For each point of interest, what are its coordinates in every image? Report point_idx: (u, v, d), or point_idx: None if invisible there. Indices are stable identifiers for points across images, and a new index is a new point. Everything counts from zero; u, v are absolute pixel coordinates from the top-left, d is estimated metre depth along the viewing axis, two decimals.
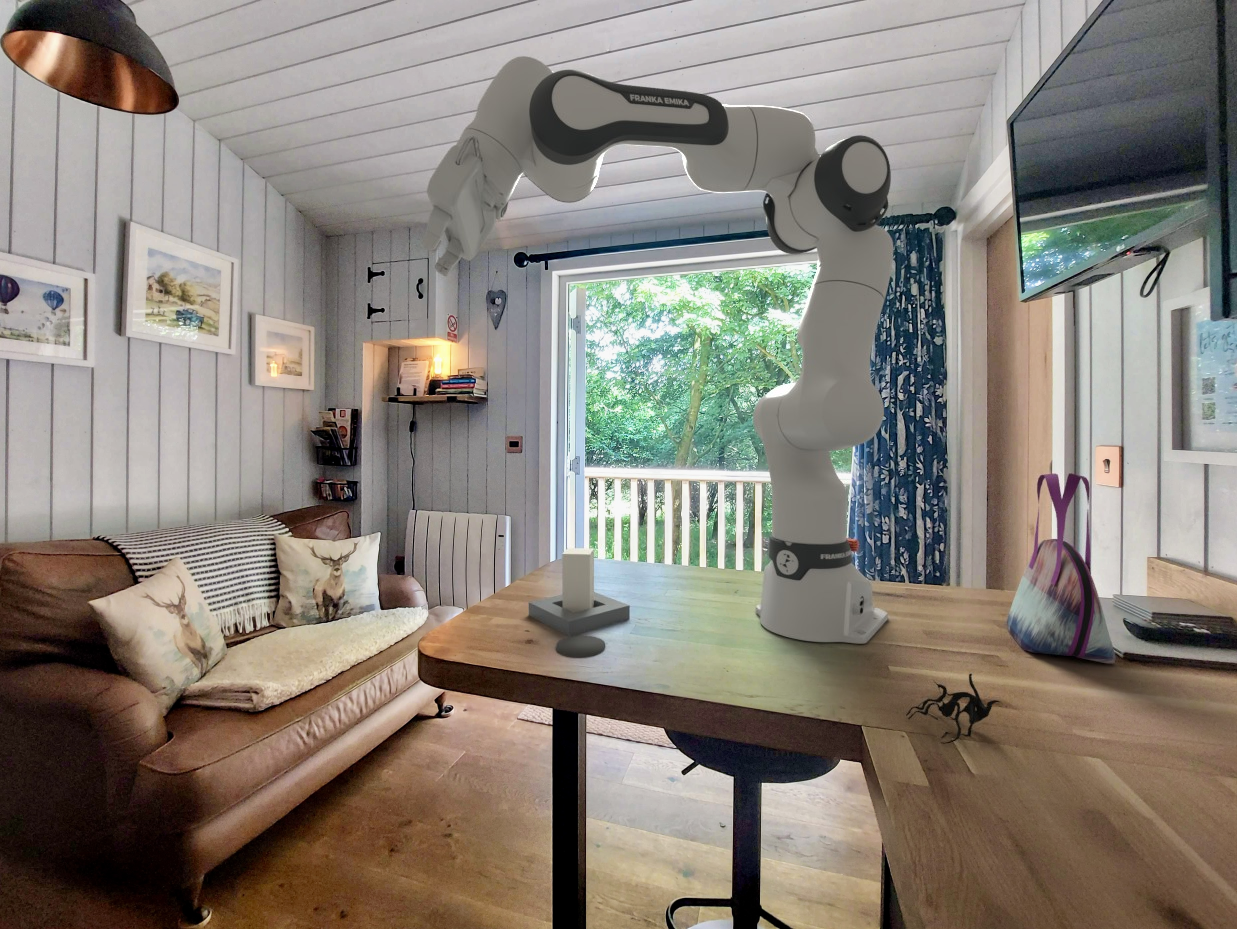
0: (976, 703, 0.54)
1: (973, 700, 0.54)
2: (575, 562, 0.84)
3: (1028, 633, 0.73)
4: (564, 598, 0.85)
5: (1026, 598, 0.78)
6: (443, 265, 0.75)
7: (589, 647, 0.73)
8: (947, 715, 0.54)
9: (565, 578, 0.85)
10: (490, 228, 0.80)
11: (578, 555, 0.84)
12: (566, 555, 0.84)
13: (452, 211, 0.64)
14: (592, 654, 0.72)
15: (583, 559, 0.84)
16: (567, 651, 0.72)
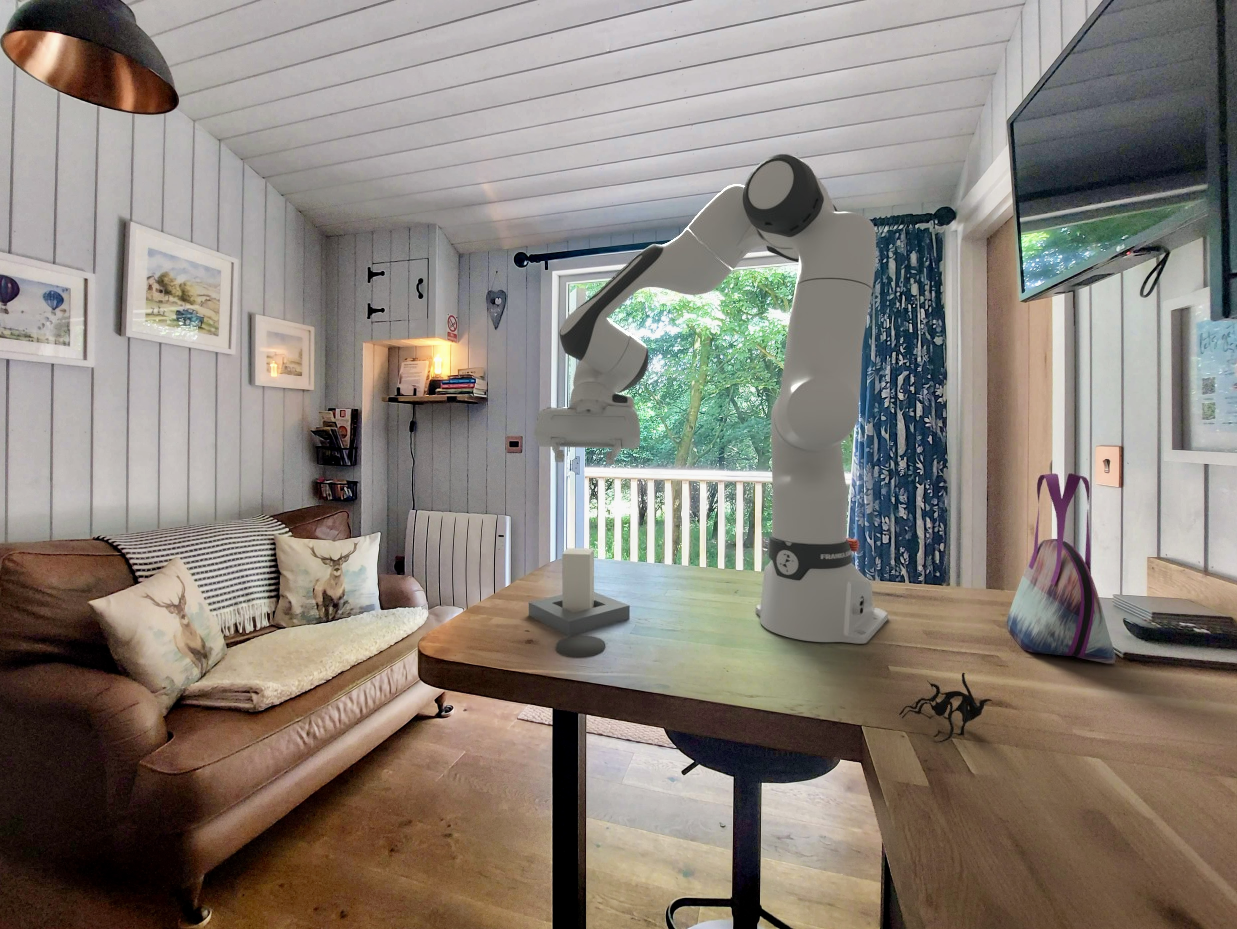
0: (969, 702, 0.54)
1: (966, 699, 0.54)
2: (575, 562, 0.84)
3: (1028, 633, 0.73)
4: (564, 598, 0.85)
5: (1026, 598, 0.78)
6: None
7: (589, 647, 0.73)
8: (940, 714, 0.54)
9: (565, 578, 0.85)
10: (630, 413, 1.01)
11: (578, 555, 0.84)
12: (566, 555, 0.84)
13: (544, 435, 0.98)
14: (592, 654, 0.72)
15: (583, 559, 0.84)
16: (567, 651, 0.72)
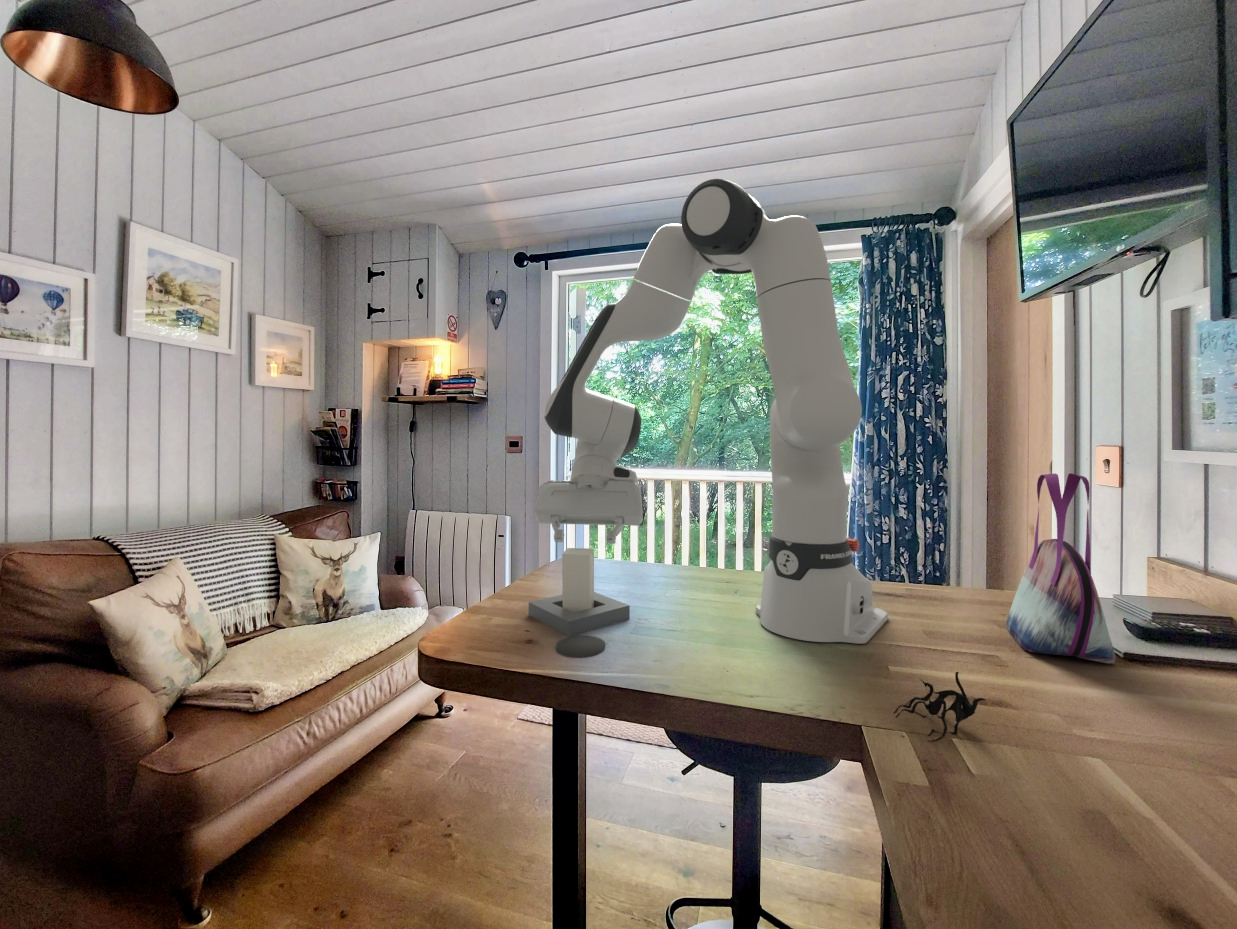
0: (962, 701, 0.54)
1: (959, 698, 0.54)
2: (575, 562, 0.84)
3: (1028, 633, 0.73)
4: (564, 598, 0.85)
5: (1026, 598, 0.78)
6: None
7: (589, 647, 0.73)
8: (934, 713, 0.54)
9: (565, 578, 0.85)
10: (632, 488, 0.97)
11: (578, 555, 0.84)
12: (566, 555, 0.84)
13: (543, 513, 0.96)
14: (592, 654, 0.72)
15: (583, 559, 0.84)
16: (567, 651, 0.72)
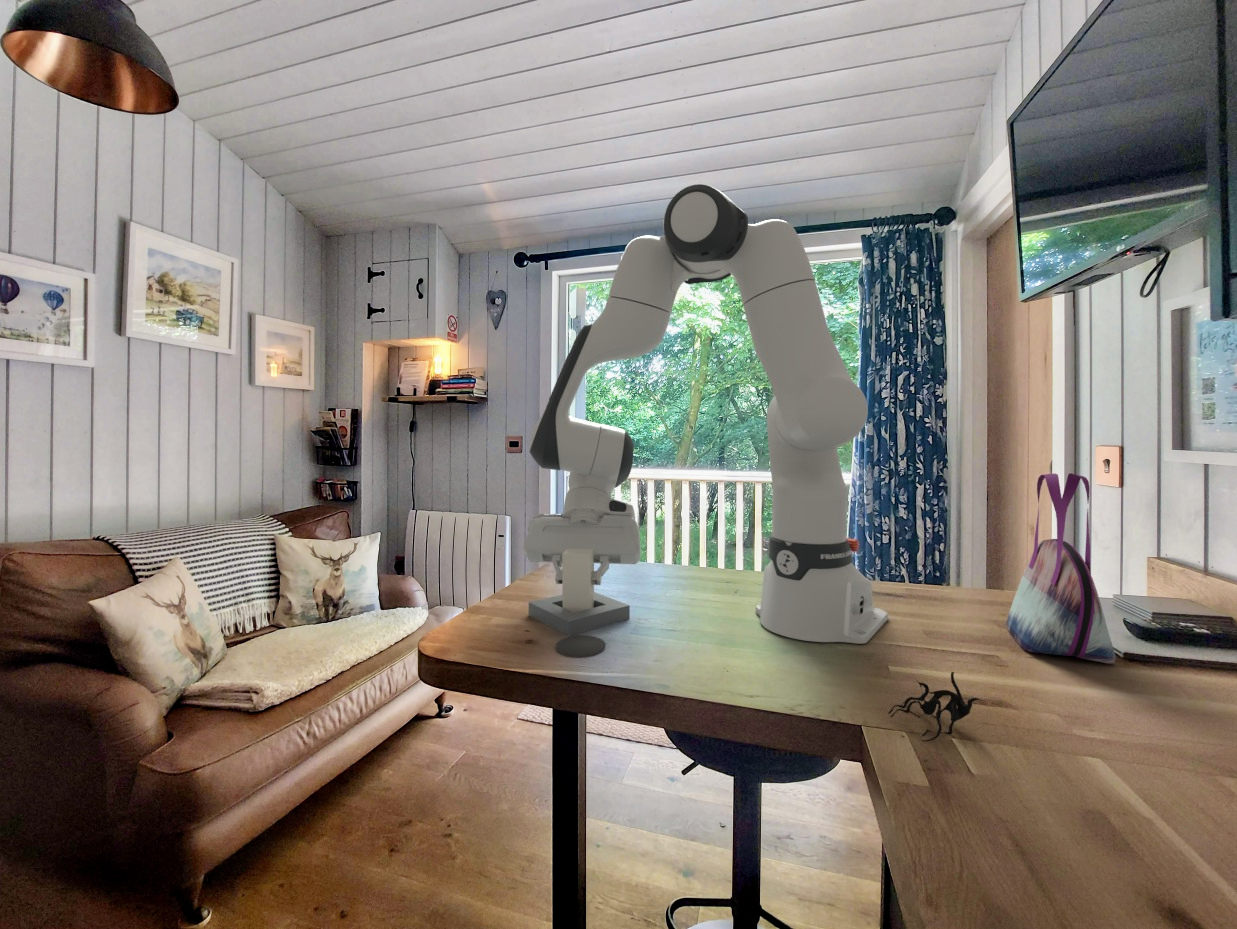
0: (957, 701, 0.54)
1: (954, 698, 0.54)
2: (575, 562, 0.84)
3: (1028, 633, 0.73)
4: (564, 598, 0.85)
5: (1026, 598, 0.78)
6: None
7: (589, 647, 0.73)
8: (928, 713, 0.54)
9: (565, 578, 0.85)
10: (629, 523, 0.91)
11: (578, 555, 0.84)
12: (566, 555, 0.84)
13: (533, 552, 0.89)
14: (592, 654, 0.72)
15: (583, 559, 0.84)
16: (567, 651, 0.72)
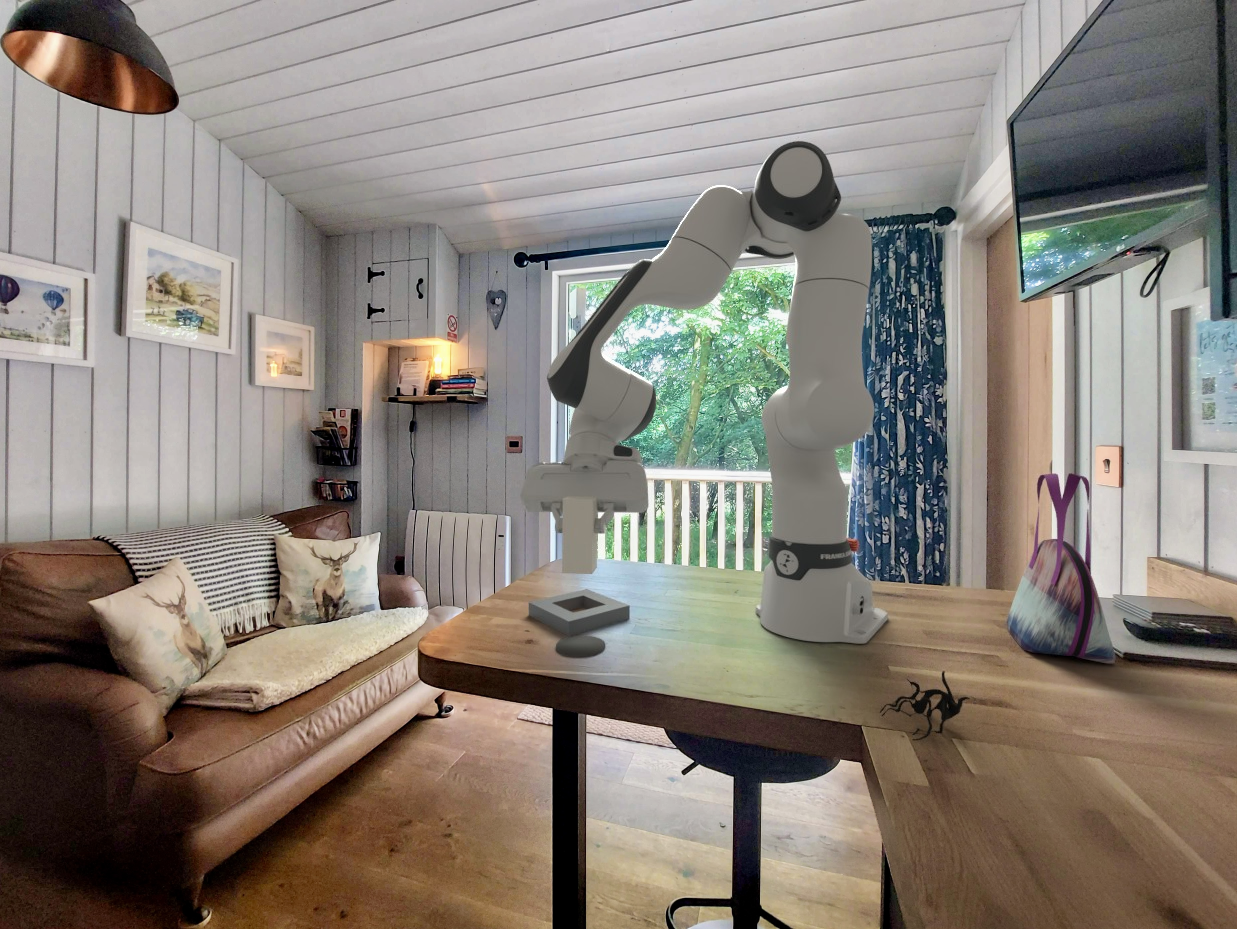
0: (948, 700, 0.54)
1: (945, 697, 0.54)
2: (576, 508, 0.77)
3: (1028, 633, 0.73)
4: (564, 548, 0.77)
5: (1026, 598, 0.78)
6: None
7: (589, 647, 0.73)
8: (919, 712, 0.55)
9: (565, 526, 0.77)
10: (635, 468, 0.83)
11: (580, 500, 0.77)
12: (567, 500, 0.77)
13: (531, 500, 0.82)
14: (592, 654, 0.72)
15: (586, 505, 0.77)
16: (567, 651, 0.72)
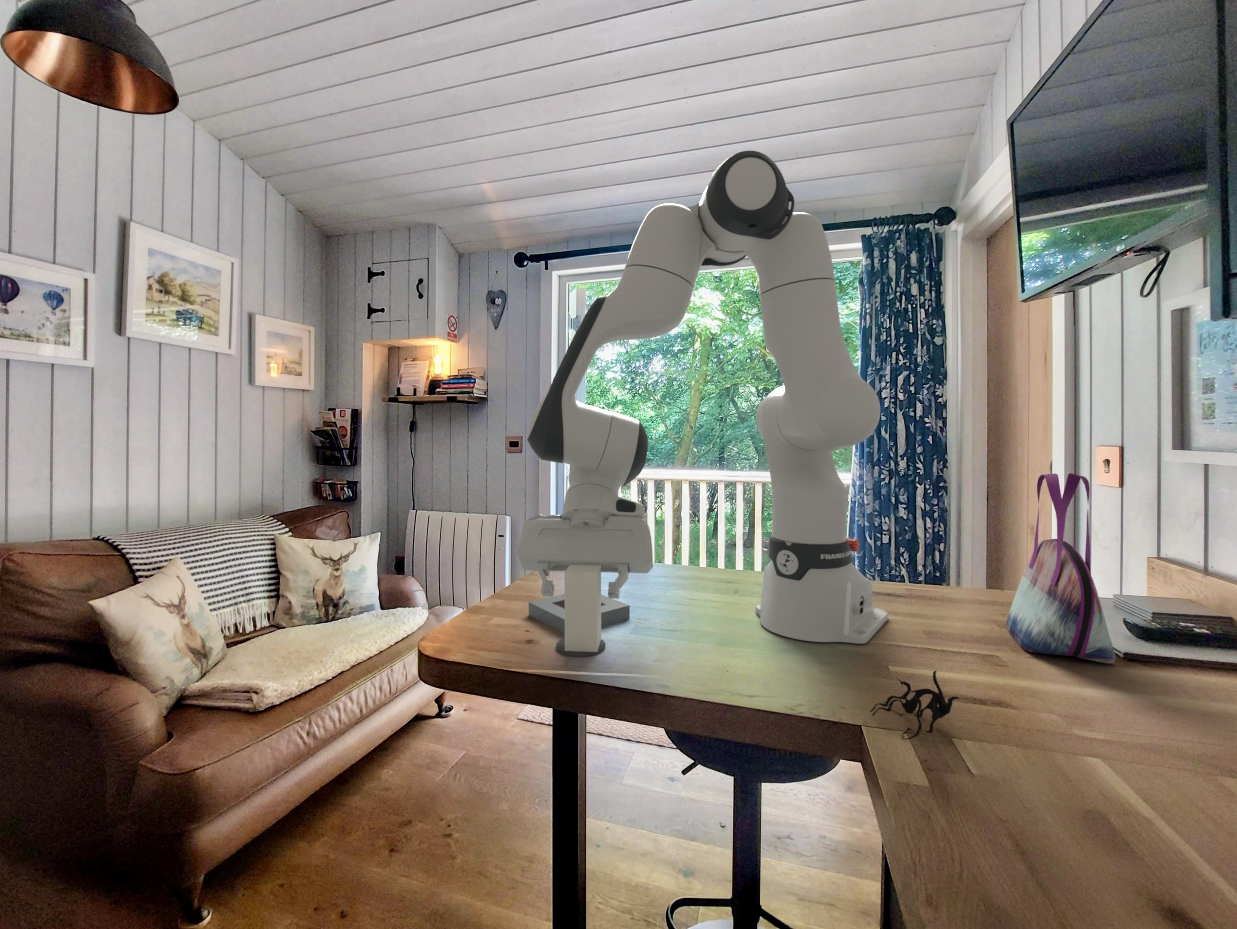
0: (938, 700, 0.54)
1: (935, 697, 0.54)
2: (579, 582, 0.72)
3: (1028, 633, 0.73)
4: (567, 624, 0.72)
5: (1026, 598, 0.78)
6: None
7: None
8: (910, 712, 0.55)
9: (567, 601, 0.72)
10: (639, 526, 0.78)
11: (583, 574, 0.72)
12: (569, 574, 0.72)
13: (528, 559, 0.76)
14: (592, 654, 0.72)
15: (589, 579, 0.72)
16: (567, 651, 0.72)
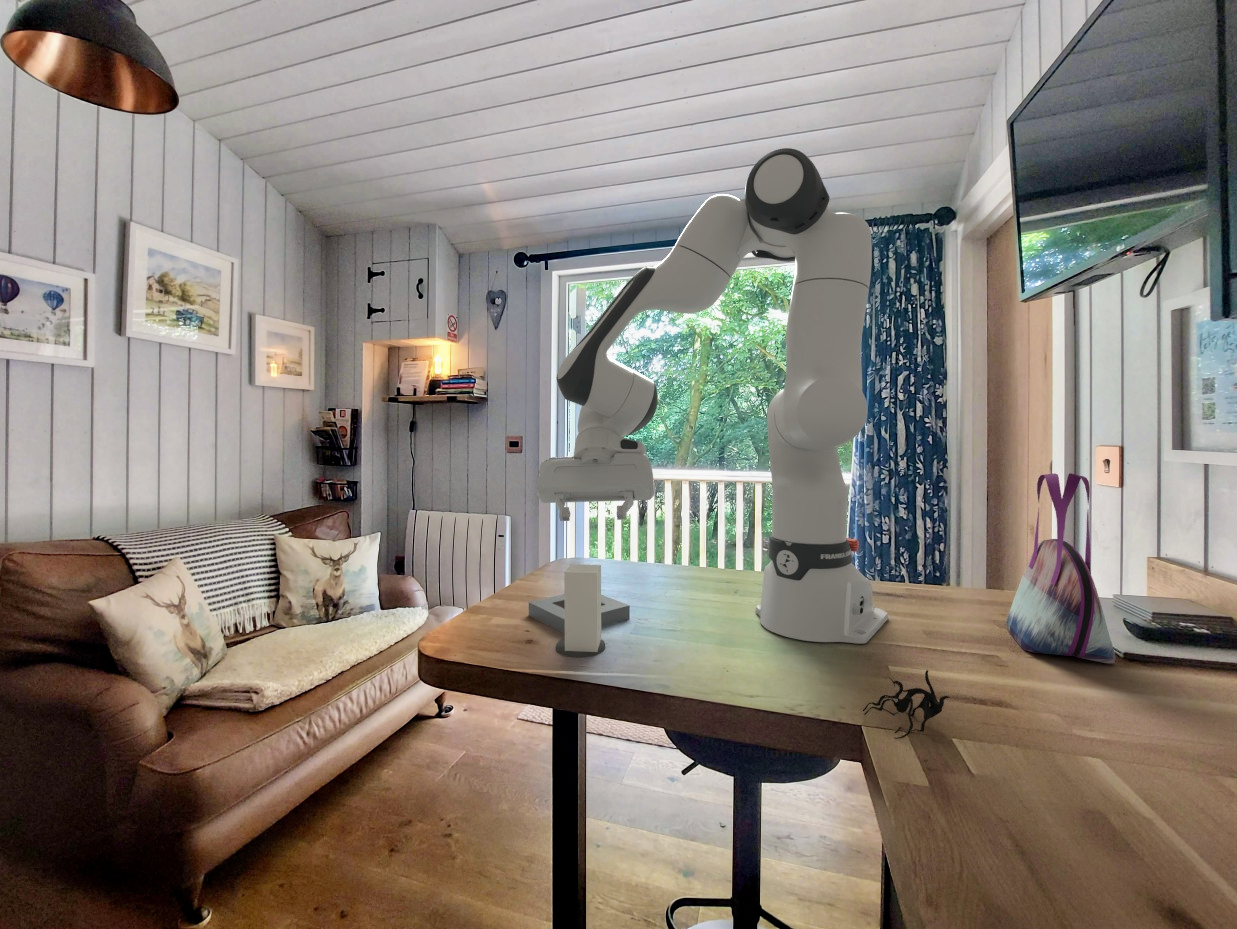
0: (930, 699, 0.54)
1: (927, 696, 0.54)
2: (579, 582, 0.72)
3: (1028, 633, 0.73)
4: (567, 624, 0.72)
5: (1026, 598, 0.78)
6: None
7: None
8: (901, 711, 0.55)
9: (567, 601, 0.72)
10: (641, 460, 0.90)
11: (583, 574, 0.72)
12: (569, 574, 0.72)
13: (546, 491, 0.88)
14: (592, 654, 0.72)
15: (589, 579, 0.72)
16: (567, 651, 0.72)
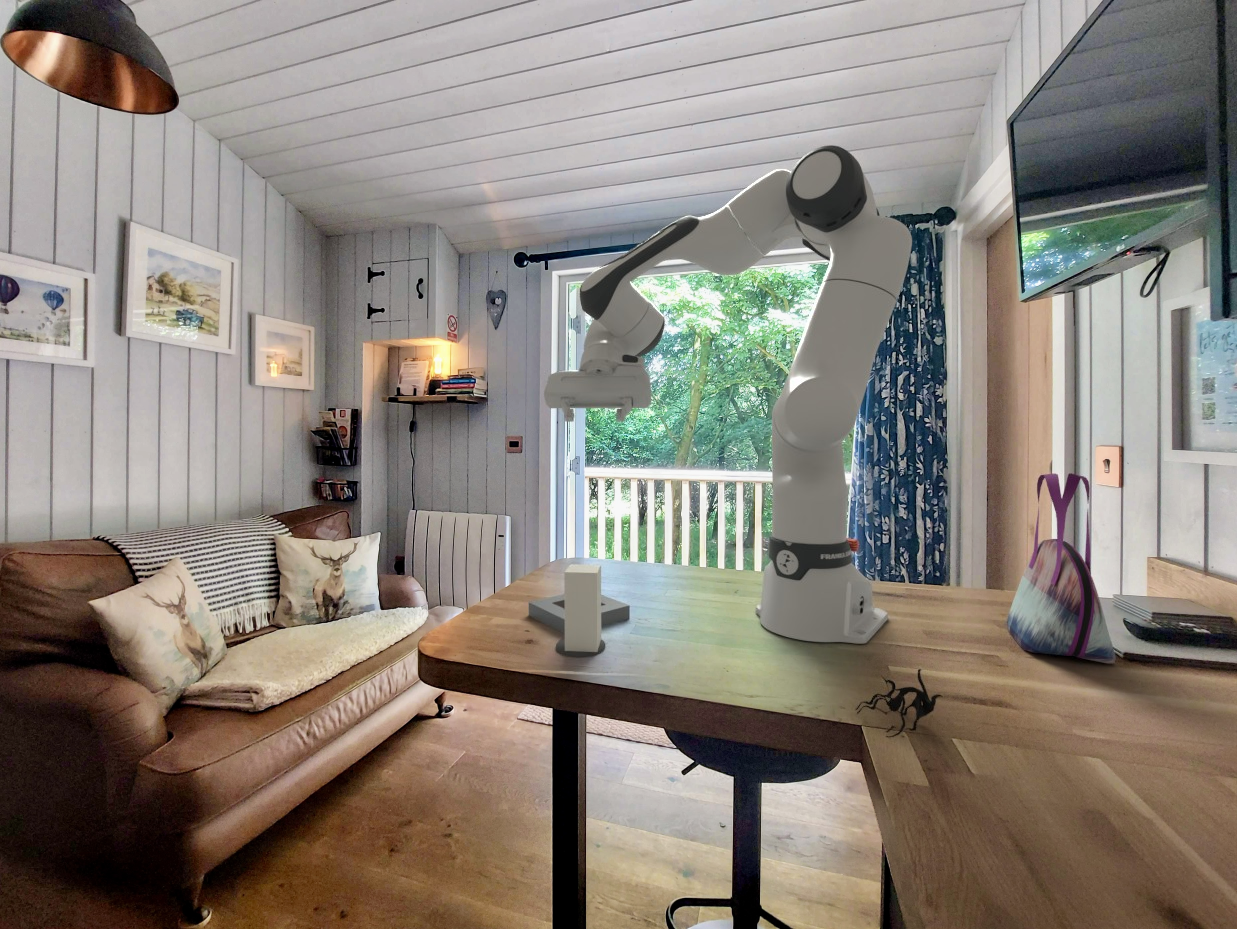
0: (922, 698, 0.55)
1: (919, 695, 0.55)
2: (579, 582, 0.72)
3: (1028, 633, 0.73)
4: (567, 624, 0.72)
5: (1026, 598, 0.78)
6: None
7: None
8: (894, 710, 0.55)
9: (567, 601, 0.72)
10: (640, 372, 0.99)
11: (583, 574, 0.72)
12: (569, 574, 0.72)
13: (553, 395, 0.97)
14: (592, 654, 0.72)
15: (589, 579, 0.72)
16: (567, 651, 0.72)
